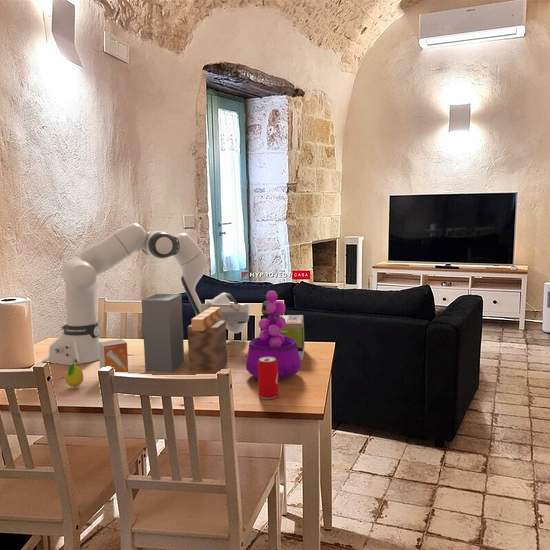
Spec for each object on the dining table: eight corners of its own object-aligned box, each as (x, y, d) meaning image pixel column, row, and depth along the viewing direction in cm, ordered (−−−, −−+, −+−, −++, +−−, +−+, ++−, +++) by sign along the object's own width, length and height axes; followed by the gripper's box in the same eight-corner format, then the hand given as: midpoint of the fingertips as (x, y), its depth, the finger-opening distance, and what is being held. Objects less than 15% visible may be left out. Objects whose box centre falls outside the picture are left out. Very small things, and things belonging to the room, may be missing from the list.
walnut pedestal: (189, 370, 193) (187, 326, 191) (199, 361, 204) (197, 320, 202) (218, 371, 191) (217, 327, 189) (227, 362, 202) (225, 320, 200)
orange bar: (210, 317, 207) (210, 307, 206) (220, 317, 206) (220, 307, 206) (191, 330, 186) (191, 319, 185) (202, 330, 185) (202, 319, 184)
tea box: (280, 350, 218) (279, 314, 216) (304, 350, 217) (304, 314, 215) (276, 360, 203) (275, 322, 201) (303, 361, 202) (302, 322, 200)
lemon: (79, 383, 182) (77, 354, 180) (89, 386, 178) (87, 357, 177) (60, 388, 177) (58, 359, 175) (70, 392, 173) (68, 362, 172)
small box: (105, 383, 181) (103, 346, 179) (100, 378, 186) (98, 342, 184) (129, 379, 185) (127, 342, 183) (123, 374, 190) (121, 338, 189)
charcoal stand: (159, 360, 206) (156, 293, 203) (184, 361, 204) (181, 294, 201) (145, 371, 193) (141, 300, 190) (171, 372, 192) (168, 300, 188)
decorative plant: (265, 365, 197) (263, 285, 193) (310, 373, 188) (309, 288, 184) (235, 380, 181) (232, 292, 177) (283, 389, 172) (281, 296, 168)
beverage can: (281, 394, 167) (280, 356, 166) (274, 401, 161) (273, 362, 160) (262, 392, 169) (261, 355, 168) (255, 399, 164) (254, 360, 162)
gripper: (205, 307, 227) (195, 296, 215) (252, 308, 223) (245, 296, 211) (203, 321, 225) (193, 311, 212) (251, 322, 221) (244, 312, 208)
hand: (219, 304), depth 212 cm, fingers open, 8 cm apart
